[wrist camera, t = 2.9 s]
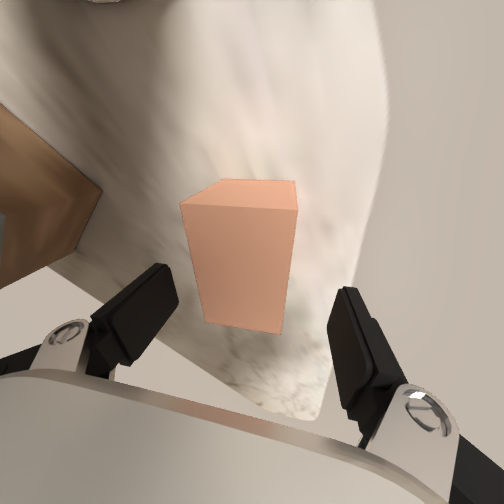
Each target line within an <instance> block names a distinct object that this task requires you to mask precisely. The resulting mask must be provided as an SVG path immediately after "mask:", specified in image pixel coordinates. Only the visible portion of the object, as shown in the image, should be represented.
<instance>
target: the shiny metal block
mask: <svg viewBox="0 0 504 504" xmlns="http://www.w3.org/2000/svg"><path fill="white" fill-rule="evenodd" d="M101 192H102V190H100V189H99V188H98V187H97V186H96V185H95V184H93V183H92V182H91V181H90V180H89V179H88V178H86V177H85V176H84V175H83V174H82V173H81V172H79V171H78V170H77V169H76V168H75V167H74V166H72V165H71V164H70V163H69V162H68V161H67V160H65V159H64V158H63V157H62V156H61V155H60V154H59V153H57V152H56V151H55V150H54V149H53V148H52V147H50V146H49V145H48V144H47V143H46V142H45V141H43V140H42V139H41V138H40V137H39V136H38V135H36V134H35V133H34V132H33V131H32V130H31V129H29V128H28V127H27V126H26V125H25V124H24V123H22V122H21V121H20V120H19V119H18V118H17V117H15V116H14V115H13V114H12V113H11V112H10V111H9V110H7V109H6V108H5V107H4V106H3V105H2V104H0V289H2V288H3V287H5V286H7V285H9V284H12V283H13V282H15V281H17V280H19V279H21V278H23V277H25V276H27V275H29V274H31V273H33V272H35V271H37V270H39V269H41V268H43V267H45V266H47V265H49V264H51V263H53V262H55V261H57V260H59V259H61V258H63V257H65V256H67V255H69V254H71V253H73V251H74V248H75V246H76V244H77V242H78V240H79V238H80V236H81V234H82V232H83V230H84V228H85V226H86V223H87V221H88V219H89V217H90V215H91V213H92V211H93V209H94V207H95V205H96V203H97V201H98V198H99V196H100V194H101Z"/></svg>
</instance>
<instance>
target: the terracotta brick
mask: <svg viewBox="0 0 504 504" xmlns="http://www.w3.org/2000/svg"><path fill="white" fill-rule="evenodd" d="M179 204H180V208H181V213H182V217H183V222H184V226H185V231H186V236H187V240H188V245H189V249H190V254H191V259H192V263H193V268H194V272H195V277H196V282H197V286H198V291H199V295H200V300H201V305H202V309H203V314H204V318H205V322H206V323H212V324H219V325H225V326H231V327H237V328H243V329H249V330H255V331H261V332H268V333H274V334H280V335H281V330H282V322H283V315H284V308H285V301H286V294H287V286H288V279H289V272H290V265H291V257H292V250H293V243H294V236H295V228H296V221H297V214H298V205H297V196H296V188H295V181H271V180H239V179H222V180H221V181H219V182H217V183H215V184H213V185H212V186H210V187H208V188H206V189H204V190H203V191H201V192H199V193H197V194H195V195H194V196H192V197H190V198H188V199H186V200H185V201H183V202H181V203H179Z"/></svg>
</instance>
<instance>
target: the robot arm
mask: <svg viewBox="0 0 504 504" xmlns="http://www.w3.org/2000/svg"><path fill="white" fill-rule="evenodd" d="M87 1H91V2H95V3H105V2H118V1H120V0H87ZM178 303H179V300H178V296H177V292H176V288H175V285H174V281H173V277H172V273H171V270H170V268H169V267H168V265H167V264H161V263H155V264H154V265H153V266H151V267H150V268H149V269H148V270H146V271H145V272H144V273H143V274H141V275H140V276H139V277H138V278H137V279H135V280H134V281H133V282H132V283H130V284H129V285H128V286H127V287H125V288H124V289H123V290H122V291H120V292H119V293H118V294H117V295H116V296H114V297H113V298H112V299H111V300H109V301H108V302H107V303H106V304H104V305H103V306H102V307H101V308H100V309H98V310H97V311H96V312H95V313H93V314H92V315H91V316H90V317H91V319H92V321H91V322H90V323H89V322H88V321H87V320H85V319H76V320H72V321H70V322H67V323H64V324H63V325H61V326H59V327H57V328H56V329H54V330H53V331H52V332H50V333H49V334H48V335H47V336H46V338H45V339H44V341H43V343H42V344H40V345H37V346H34V347H31V348H29V349H26V350H23V351H21V352H18V353H15V354H12V355H10V356H7V357H4V358H2V359H0V504H504V470H503V469H501V468H500V467H499V466H498V465H497V464H495V463H494V462H493V461H492V460H491V459H489V458H488V457H487V456H486V455H484V454H483V453H482V452H481V451H480V450H478V449H477V448H476V447H475V446H474V445H472V444H471V443H470V442H469V441H468V440H466V439H465V438H464V437H463V436H461V435H460V434H459V429H458V426H457V424H456V421H455V419H454V417H453V416H452V415H451V413H450V411H449V410H448V409H447V408H446V407H445V406H444V405H443V403H442V402H441V401H440V400H438V399H437V398H436V397H435V396H434V395H432V394H431V393H430V392H428V391H426V390H425V389H423V388H421V387H419V386H416V385H413V384H409V383H408V382H407V379H406V378H405V376H404V374H403V371H402V369H401V367H400V366H399V364H398V362H397V360H396V358H395V356H394V354H393V352H392V350H391V348H390V346H389V344H388V342H387V340H386V338H385V336H384V334H383V332H382V330H381V328H380V326H379V324H378V322H377V320H376V319H374V318H371V316H370V314H369V312H368V310H367V308H366V306H365V303H364V301H363V299H362V297H361V295H360V293H359V291H358V289H357V288H354V287H346V286H344V287H343V288H342V289H338V292H337V295H336V298H335V301H334V305H333V308H332V311H331V314H330V317H329V320H328V323H327V334H328V339H329V344H330V350H331V355H332V360H333V365H334V370H335V375H336V380H337V386H338V391H339V396H340V401H341V406H342V408H343V409H346V410H347V415H348V419H350V420H354V421H357V422H358V426H359V430H360V432H361V433H362V435H361V437H360V439H359V441H358V443H357V445H356V447H354V446H352V445H349V444H346V443H343V442H340V441H337V440H334V439H331V438H327V437H323V436H320V435H317V434H313V433H310V432H306V431H302V430H299V429H296V428H292V427H288V426H285V425H281V424H277V423H273V422H270V421H266V420H262V419H258V418H254V417H251V416H246V415H243V414H239V413H236V412H231V411H227V410H224V409H220V408H216V407H213V406H209V405H205V404H201V403H197V402H194V401H190V400H186V399H182V398H178V397H174V396H170V395H166V394H163V393H158V392H155V391H151V390H147V389H143V388H139V387H135V386H131V385H127V384H123V383H119V382H115V381H114V377H115V368H116V365H117V364H118V363H120V364H121V365H124V366H129V367H130V366H131V365H132V363H133V362H134V361H135V360H137V359H138V358H139V357H140V356H141V355H142V353H143V352H144V350H145V349H146V348H147V346H148V345H149V344H150V343H151V341H152V340H153V338H154V337H155V336H156V334H157V333H158V332H159V330H160V329H161V328H162V326H163V325H164V324H165V322H166V321H167V320H168V318H169V317H170V316H171V314H172V313H173V312H174V310H175V309H176V308H177V306H178Z"/></svg>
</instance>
